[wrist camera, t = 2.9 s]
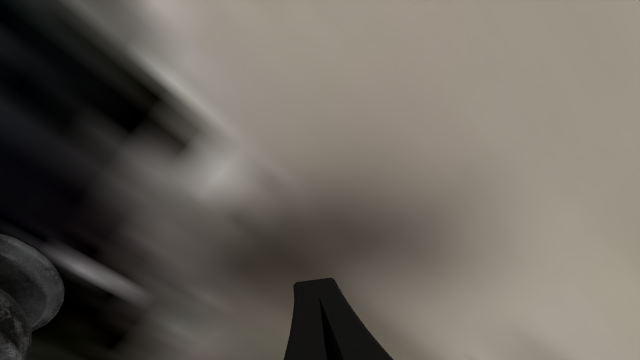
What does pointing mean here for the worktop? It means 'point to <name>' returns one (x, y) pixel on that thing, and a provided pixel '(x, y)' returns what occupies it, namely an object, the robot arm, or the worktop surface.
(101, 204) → the worktop surface
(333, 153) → the worktop surface
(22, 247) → the grey stone vase
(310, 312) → the robot arm
